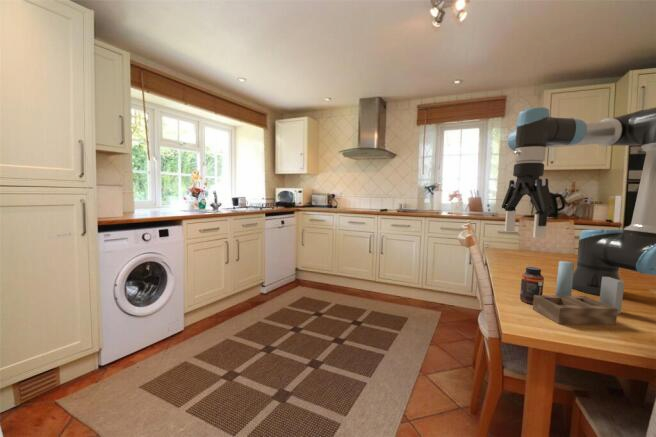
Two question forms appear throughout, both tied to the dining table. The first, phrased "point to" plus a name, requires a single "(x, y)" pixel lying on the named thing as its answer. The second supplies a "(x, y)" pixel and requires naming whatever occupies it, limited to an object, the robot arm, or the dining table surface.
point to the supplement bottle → (531, 284)
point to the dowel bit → (565, 278)
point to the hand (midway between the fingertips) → (522, 234)
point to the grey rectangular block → (612, 292)
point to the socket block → (574, 310)
